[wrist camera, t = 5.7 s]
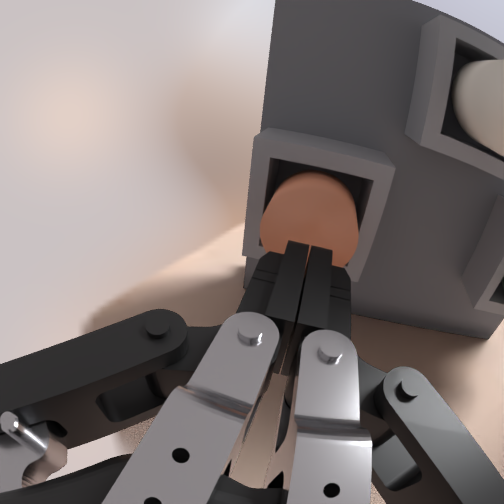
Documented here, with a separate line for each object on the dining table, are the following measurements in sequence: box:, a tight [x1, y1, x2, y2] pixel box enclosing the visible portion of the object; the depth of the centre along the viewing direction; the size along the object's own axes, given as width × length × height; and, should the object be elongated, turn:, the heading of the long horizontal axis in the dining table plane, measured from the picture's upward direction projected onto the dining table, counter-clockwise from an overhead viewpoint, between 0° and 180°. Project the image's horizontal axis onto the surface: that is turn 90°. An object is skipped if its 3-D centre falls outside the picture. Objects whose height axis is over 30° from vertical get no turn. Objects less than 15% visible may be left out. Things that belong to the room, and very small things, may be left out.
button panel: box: [242, 0, 504, 339], centre depth 13 cm, size 6×21×20 cm, turn 75°
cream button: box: [451, 60, 504, 157], centre depth 7 cm, size 2×4×4 cm, turn 75°
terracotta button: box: [260, 170, 359, 267], centre depth 13 cm, size 2×4×4 cm, turn 75°
